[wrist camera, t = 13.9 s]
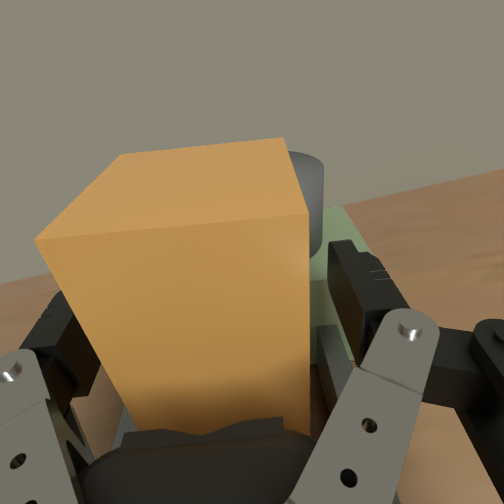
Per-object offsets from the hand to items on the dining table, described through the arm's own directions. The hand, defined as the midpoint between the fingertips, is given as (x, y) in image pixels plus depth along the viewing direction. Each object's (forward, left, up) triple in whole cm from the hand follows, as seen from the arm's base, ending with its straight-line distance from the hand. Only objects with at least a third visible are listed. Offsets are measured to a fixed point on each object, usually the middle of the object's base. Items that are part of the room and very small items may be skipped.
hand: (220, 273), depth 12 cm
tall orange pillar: (-1, -2, -8) cm, 9 cm away
